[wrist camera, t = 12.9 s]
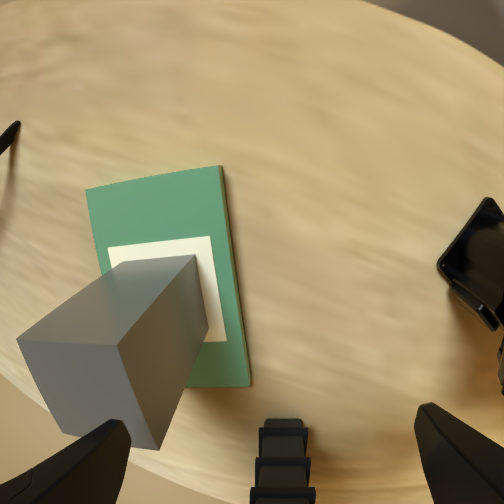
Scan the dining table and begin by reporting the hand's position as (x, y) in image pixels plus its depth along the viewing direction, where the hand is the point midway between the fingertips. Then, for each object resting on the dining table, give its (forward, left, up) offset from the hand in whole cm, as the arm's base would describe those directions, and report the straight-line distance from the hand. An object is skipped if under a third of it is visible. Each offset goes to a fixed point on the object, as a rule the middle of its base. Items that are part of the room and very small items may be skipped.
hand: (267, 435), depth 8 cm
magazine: (+12, +11, -13) cm, 21 cm away
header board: (+5, -5, -13) cm, 15 cm away
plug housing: (+5, -5, -12) cm, 14 cm away
